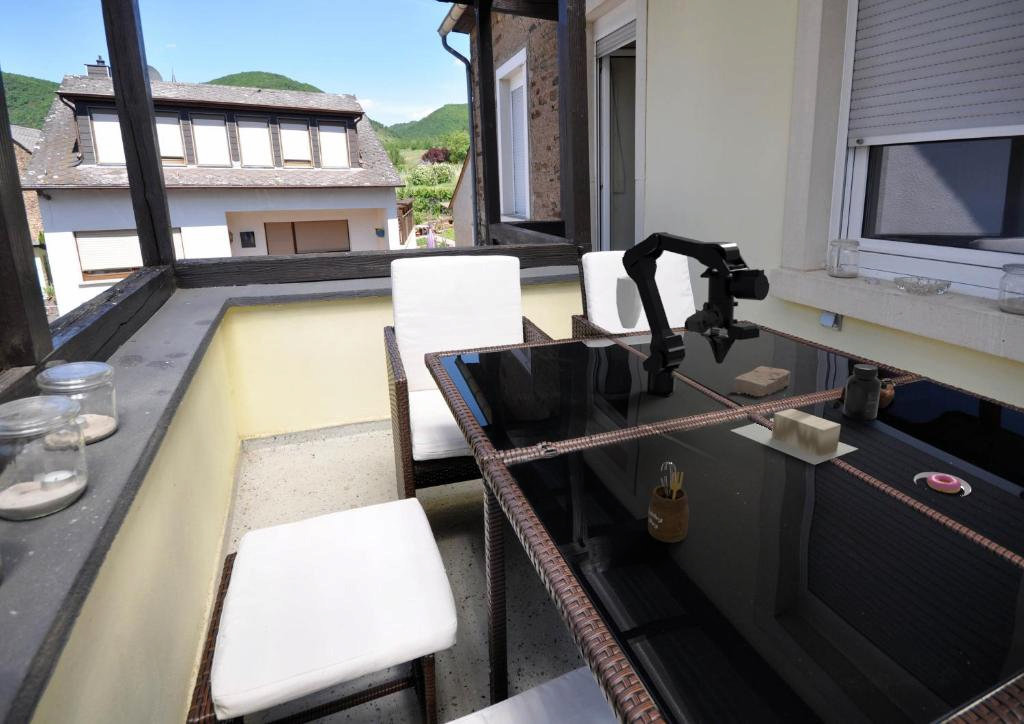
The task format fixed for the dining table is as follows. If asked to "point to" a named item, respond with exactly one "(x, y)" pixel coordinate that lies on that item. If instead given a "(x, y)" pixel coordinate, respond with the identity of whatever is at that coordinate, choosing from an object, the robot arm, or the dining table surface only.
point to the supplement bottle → (862, 393)
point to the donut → (944, 482)
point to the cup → (628, 302)
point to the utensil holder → (669, 511)
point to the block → (806, 431)
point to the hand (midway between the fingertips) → (719, 363)
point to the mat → (765, 437)
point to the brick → (761, 381)
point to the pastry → (885, 395)
